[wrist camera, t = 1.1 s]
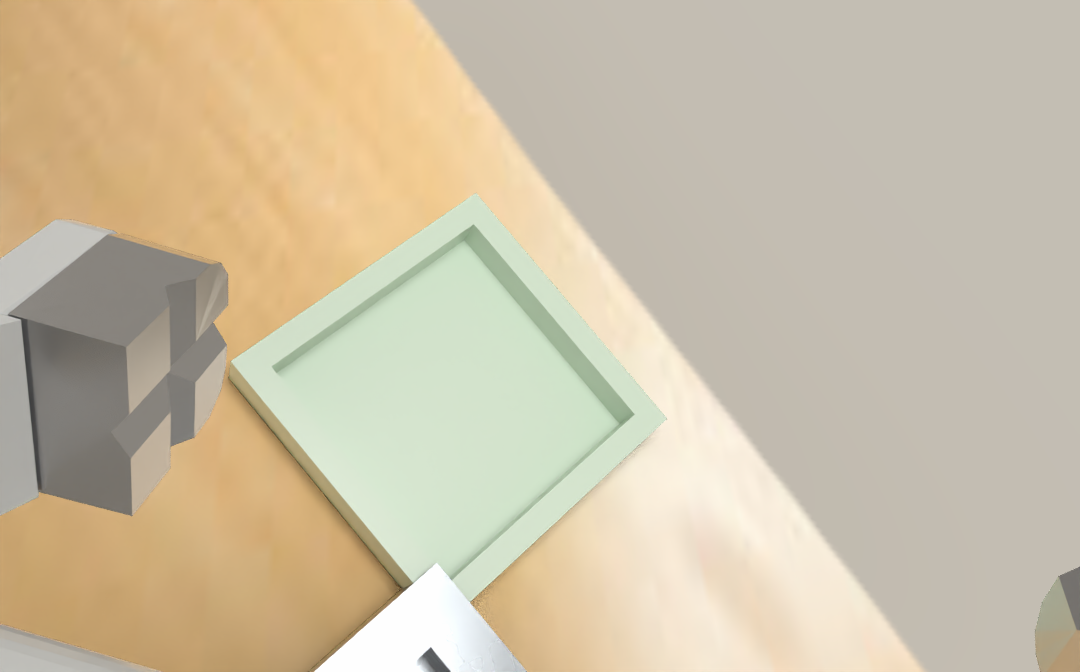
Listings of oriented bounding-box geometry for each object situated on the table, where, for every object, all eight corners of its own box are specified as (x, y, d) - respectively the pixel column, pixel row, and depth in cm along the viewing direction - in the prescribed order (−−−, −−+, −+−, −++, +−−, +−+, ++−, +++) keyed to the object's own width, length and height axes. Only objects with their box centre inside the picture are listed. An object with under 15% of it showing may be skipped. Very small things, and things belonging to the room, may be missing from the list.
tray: (228, 377, 45) (230, 361, 43) (463, 214, 52) (475, 192, 50) (433, 627, 45) (446, 623, 43) (646, 430, 51) (667, 418, 49)
